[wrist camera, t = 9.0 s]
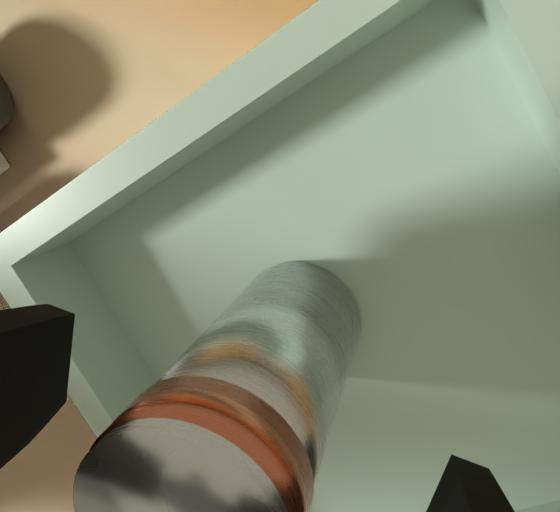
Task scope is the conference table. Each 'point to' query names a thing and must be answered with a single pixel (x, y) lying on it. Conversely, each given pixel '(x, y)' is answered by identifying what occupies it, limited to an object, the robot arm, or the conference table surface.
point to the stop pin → (235, 407)
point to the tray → (343, 236)
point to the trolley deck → (4, 116)
